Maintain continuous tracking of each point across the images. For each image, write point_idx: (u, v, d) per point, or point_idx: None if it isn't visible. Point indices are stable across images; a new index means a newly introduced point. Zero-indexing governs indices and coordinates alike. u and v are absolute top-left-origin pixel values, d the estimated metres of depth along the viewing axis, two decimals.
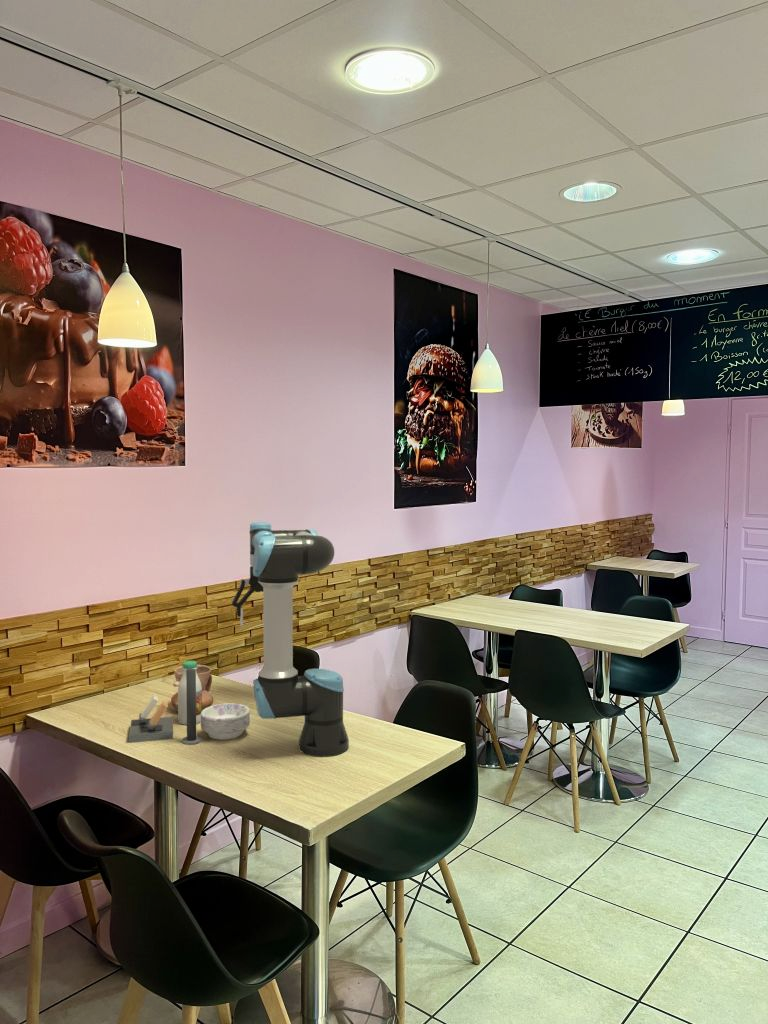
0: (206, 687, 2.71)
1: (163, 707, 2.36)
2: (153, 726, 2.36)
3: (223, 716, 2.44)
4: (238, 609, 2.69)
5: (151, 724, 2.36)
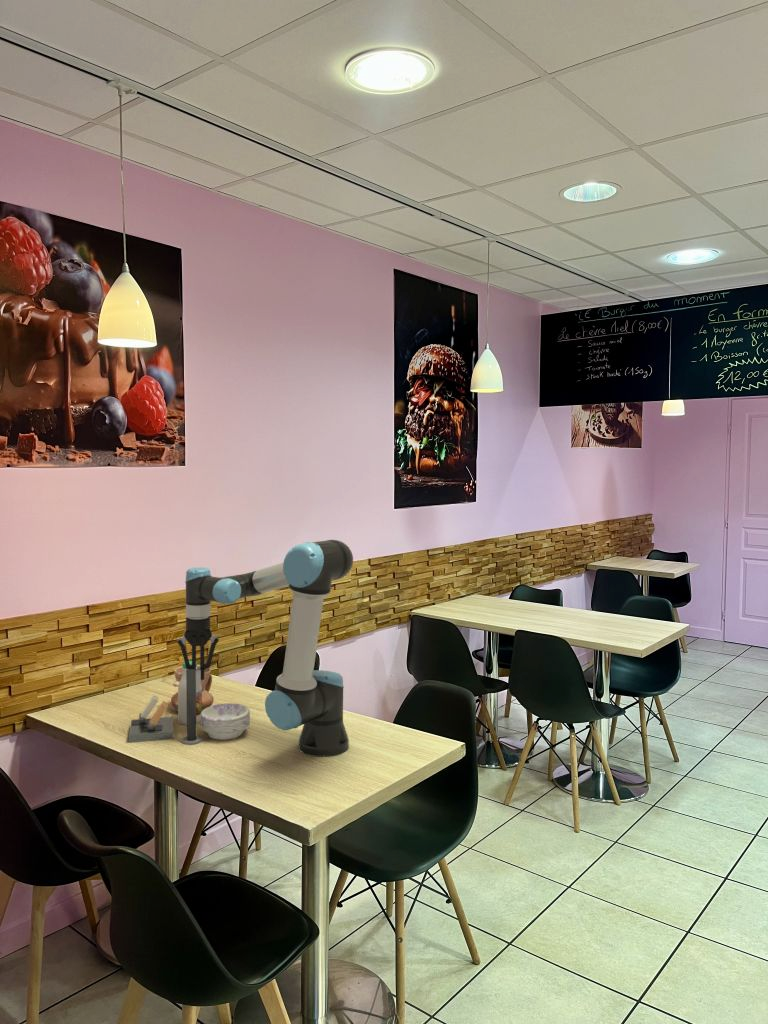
0: (206, 687, 2.71)
1: (163, 707, 2.36)
2: (153, 726, 2.36)
3: (223, 716, 2.44)
4: None
5: (151, 724, 2.36)
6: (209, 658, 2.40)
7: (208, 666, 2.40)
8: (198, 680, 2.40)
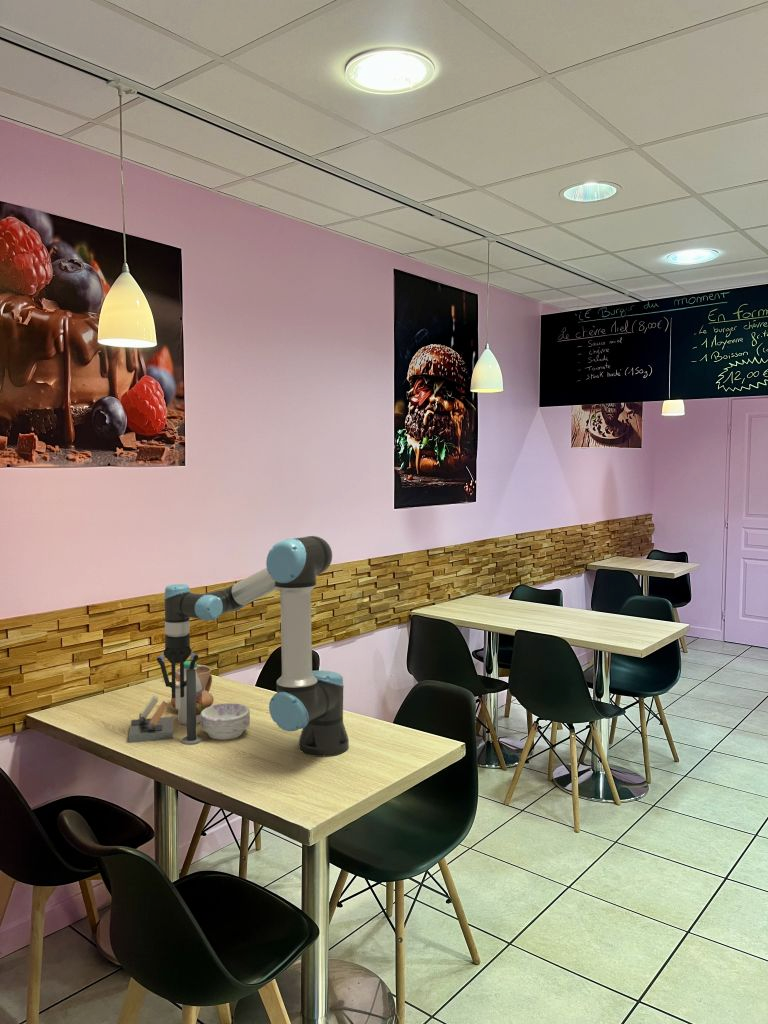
0: (206, 687, 2.71)
1: (163, 707, 2.36)
2: (153, 726, 2.36)
3: (223, 716, 2.44)
4: (173, 690, 2.38)
5: (151, 724, 2.36)
6: None
7: None
8: (178, 698, 2.38)
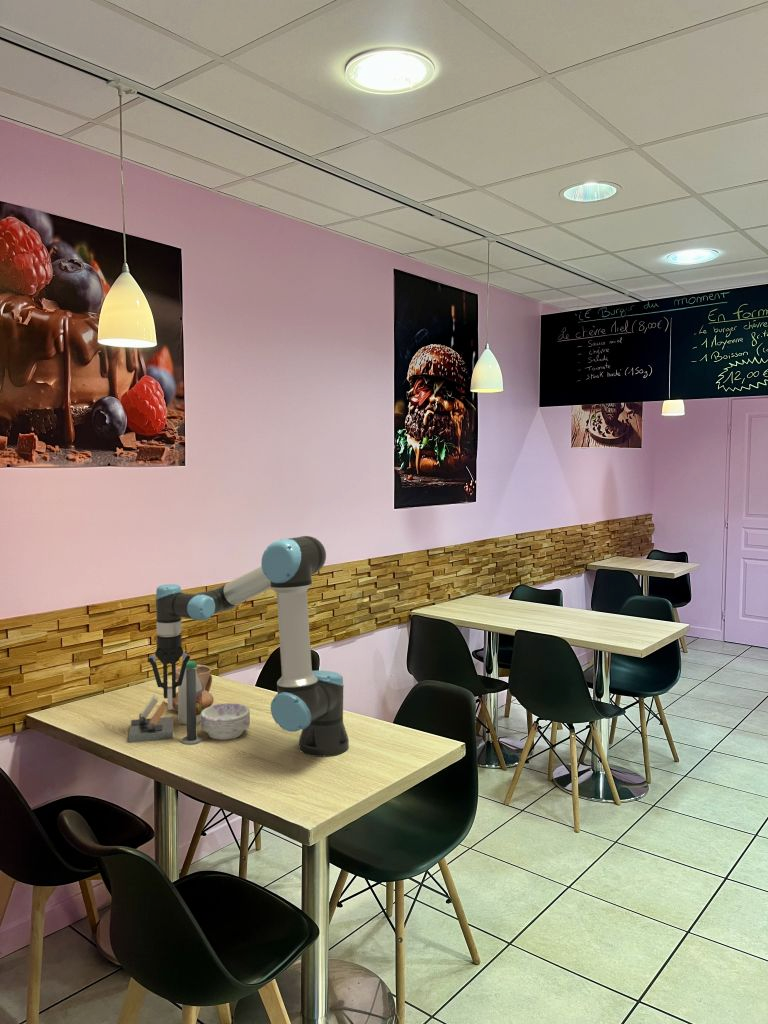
0: (206, 687, 2.71)
1: (163, 707, 2.36)
2: (153, 726, 2.36)
3: (223, 716, 2.44)
4: (165, 690, 2.38)
5: (151, 724, 2.36)
6: (180, 676, 2.38)
7: (180, 684, 2.38)
8: (170, 698, 2.38)
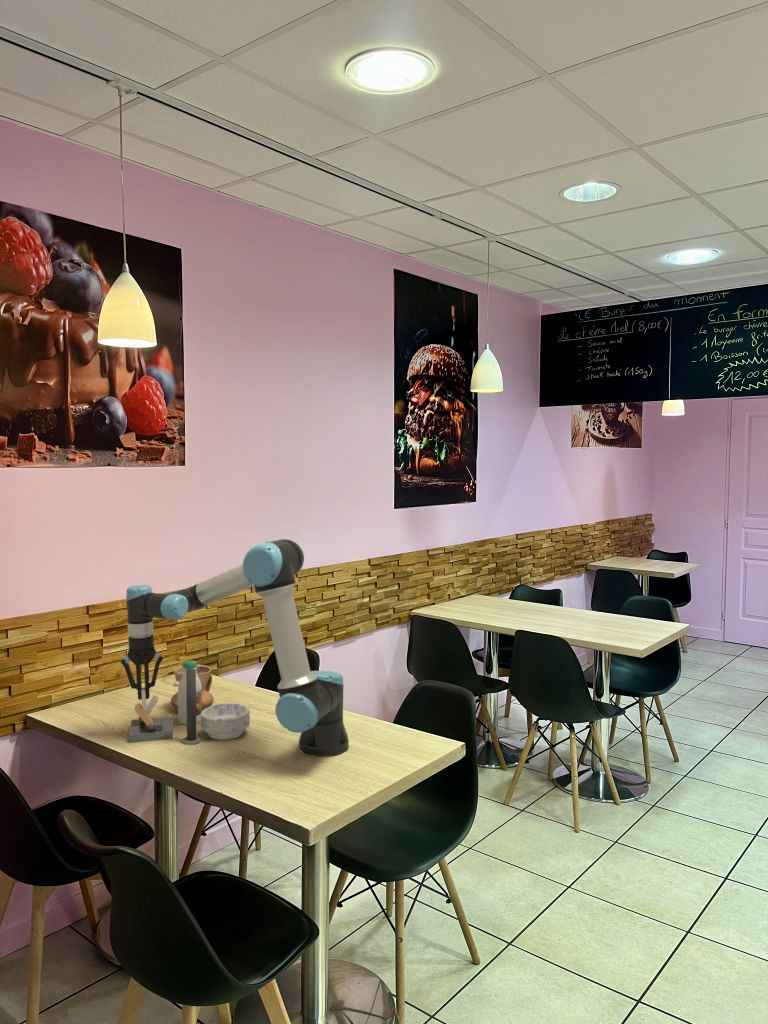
0: (206, 687, 2.71)
1: (137, 710, 2.34)
2: (151, 724, 2.36)
3: (223, 716, 2.44)
4: (139, 692, 2.36)
5: (149, 725, 2.35)
6: (153, 677, 2.36)
7: (153, 685, 2.36)
8: (143, 699, 2.36)
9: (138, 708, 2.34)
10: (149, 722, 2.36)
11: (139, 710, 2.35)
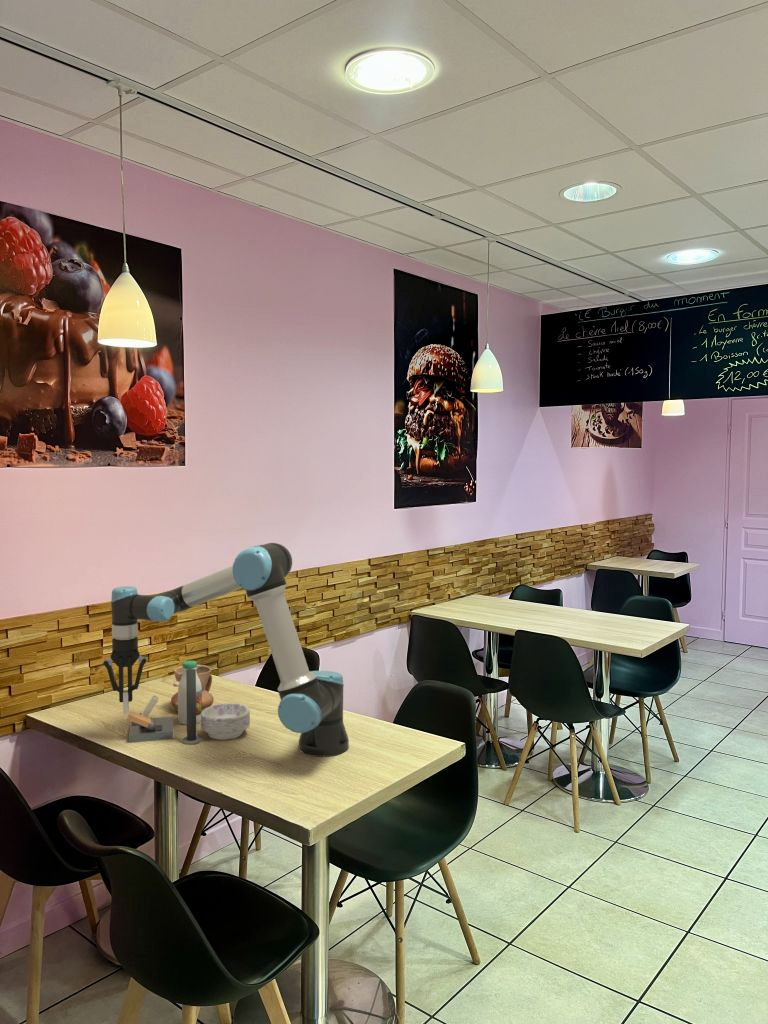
0: (206, 687, 2.71)
1: (130, 718, 2.34)
2: (150, 724, 2.35)
3: (223, 716, 2.44)
4: (120, 694, 2.34)
5: (148, 727, 2.35)
6: (137, 679, 2.35)
7: (136, 687, 2.35)
8: (125, 702, 2.34)
9: (130, 716, 2.34)
10: (147, 723, 2.35)
11: (132, 718, 2.34)
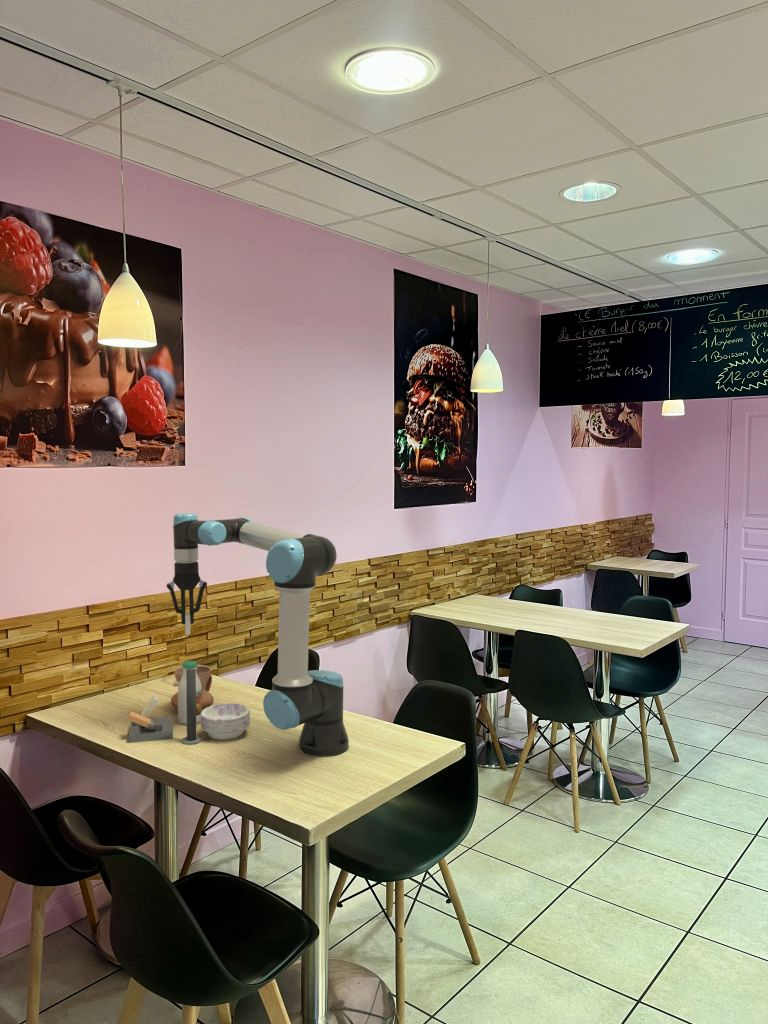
0: (206, 687, 2.71)
1: (130, 719, 2.34)
2: (150, 724, 2.35)
3: (223, 716, 2.44)
4: (183, 616, 2.44)
5: (148, 727, 2.35)
6: (198, 602, 2.45)
7: (197, 610, 2.45)
8: (188, 624, 2.44)
9: (130, 716, 2.34)
10: (147, 723, 2.35)
11: (132, 718, 2.34)
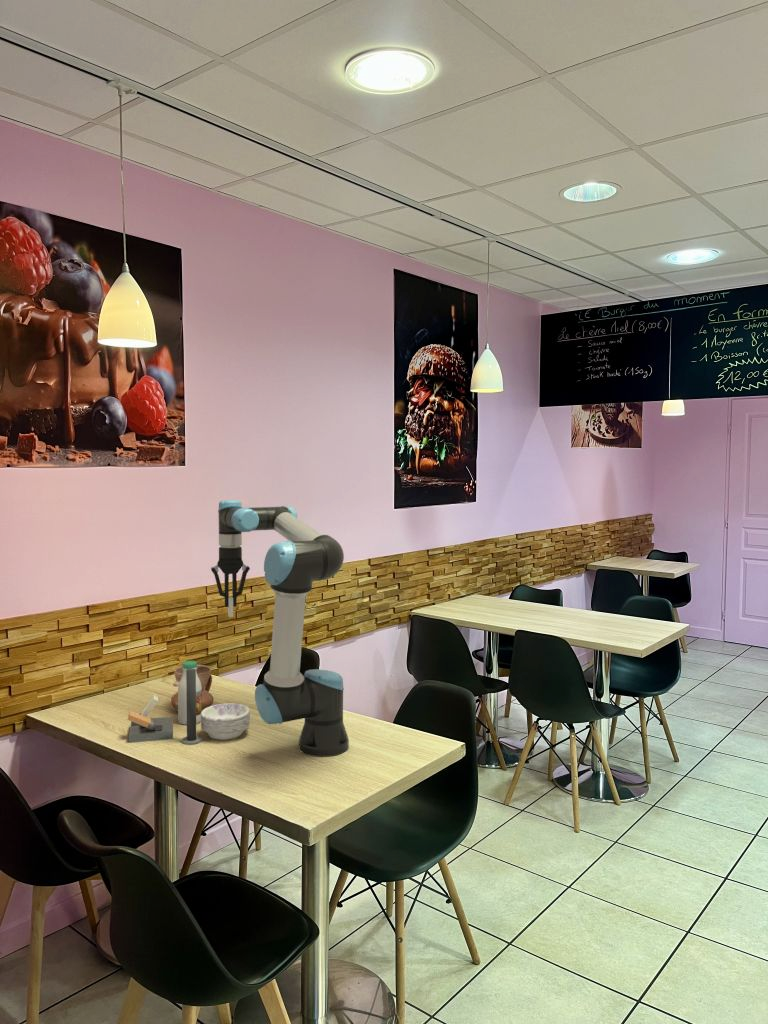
0: (206, 687, 2.71)
1: (130, 719, 2.34)
2: (150, 724, 2.35)
3: (223, 716, 2.44)
4: (226, 599, 2.53)
5: (148, 727, 2.35)
6: (241, 586, 2.54)
7: (240, 593, 2.54)
8: (231, 606, 2.53)
9: (130, 716, 2.34)
10: (147, 723, 2.35)
11: (132, 718, 2.34)
